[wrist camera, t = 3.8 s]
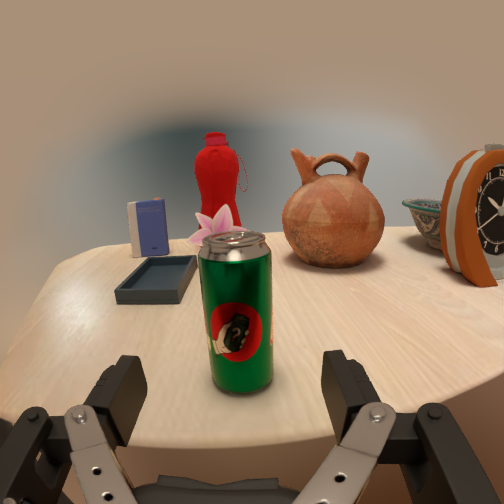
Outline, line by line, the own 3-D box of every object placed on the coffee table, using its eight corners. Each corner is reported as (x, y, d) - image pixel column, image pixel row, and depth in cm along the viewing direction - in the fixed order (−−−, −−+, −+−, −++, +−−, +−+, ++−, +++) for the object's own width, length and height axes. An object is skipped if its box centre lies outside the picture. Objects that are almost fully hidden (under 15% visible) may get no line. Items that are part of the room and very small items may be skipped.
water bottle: (251, 251, 63) (245, 127, 57) (198, 253, 63) (190, 131, 56) (250, 241, 72) (245, 133, 65) (203, 243, 72) (196, 136, 65)
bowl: (459, 234, 71) (461, 200, 69) (516, 259, 47) (521, 216, 45) (384, 235, 72) (385, 197, 70) (433, 265, 48) (438, 213, 45)
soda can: (285, 381, 23) (286, 236, 20) (232, 406, 21) (217, 250, 17) (251, 355, 27) (244, 226, 24) (202, 373, 25) (185, 236, 22)
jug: (296, 280, 46) (293, 143, 40) (275, 250, 63) (271, 151, 58) (400, 269, 47) (404, 149, 42) (357, 244, 65) (357, 152, 59)
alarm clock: (461, 289, 37) (470, 132, 31) (433, 268, 46) (438, 137, 41) (542, 279, 35) (553, 154, 29) (513, 263, 45) (520, 152, 39)
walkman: (169, 251, 66) (164, 197, 63) (167, 255, 63) (161, 198, 60) (135, 254, 65) (129, 200, 62) (132, 257, 62) (126, 202, 59)
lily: (179, 273, 54) (189, 230, 49) (186, 236, 64) (196, 196, 58) (242, 286, 57) (260, 246, 52) (240, 248, 66) (254, 211, 61)
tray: (179, 303, 39) (177, 289, 39) (116, 304, 39) (113, 290, 39) (197, 266, 55) (196, 255, 54) (149, 268, 55) (148, 257, 54)
